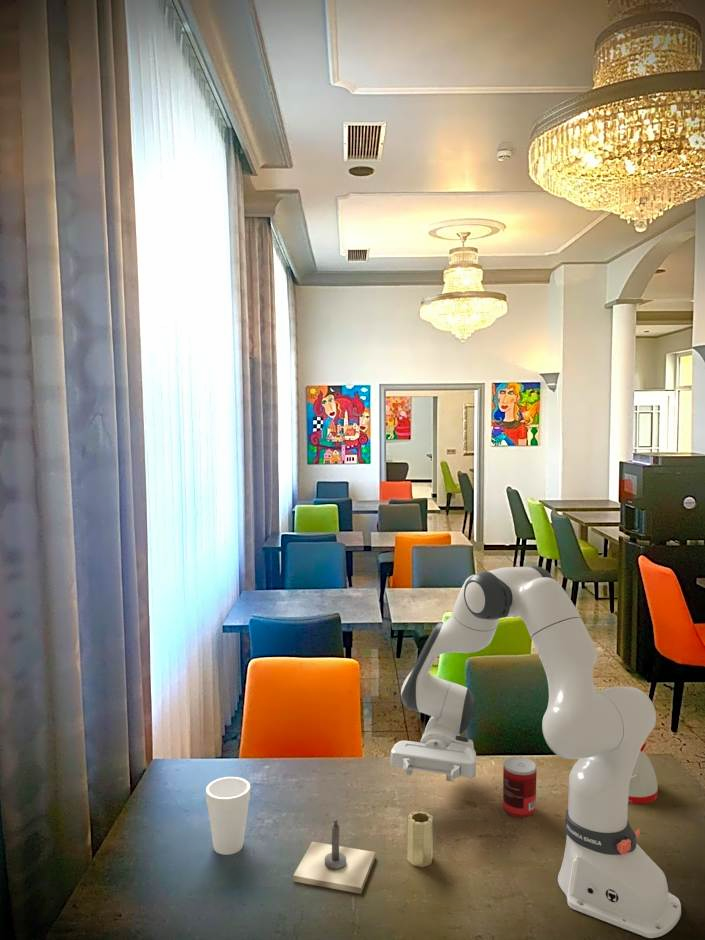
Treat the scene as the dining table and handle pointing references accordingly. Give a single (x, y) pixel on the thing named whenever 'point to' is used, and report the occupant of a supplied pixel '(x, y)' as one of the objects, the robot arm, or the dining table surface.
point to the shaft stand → (335, 865)
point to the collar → (420, 838)
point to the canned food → (519, 787)
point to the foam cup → (228, 813)
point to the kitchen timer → (643, 780)
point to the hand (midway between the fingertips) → (428, 775)
